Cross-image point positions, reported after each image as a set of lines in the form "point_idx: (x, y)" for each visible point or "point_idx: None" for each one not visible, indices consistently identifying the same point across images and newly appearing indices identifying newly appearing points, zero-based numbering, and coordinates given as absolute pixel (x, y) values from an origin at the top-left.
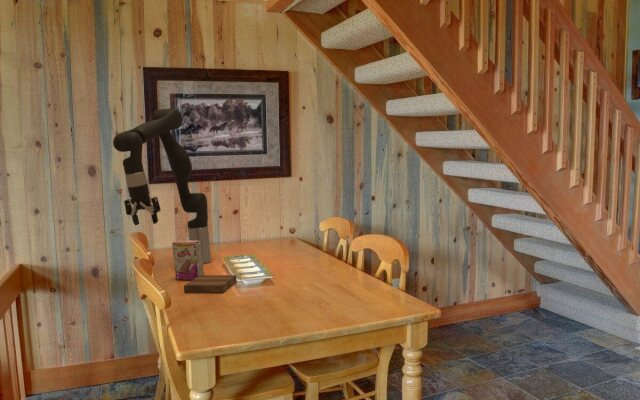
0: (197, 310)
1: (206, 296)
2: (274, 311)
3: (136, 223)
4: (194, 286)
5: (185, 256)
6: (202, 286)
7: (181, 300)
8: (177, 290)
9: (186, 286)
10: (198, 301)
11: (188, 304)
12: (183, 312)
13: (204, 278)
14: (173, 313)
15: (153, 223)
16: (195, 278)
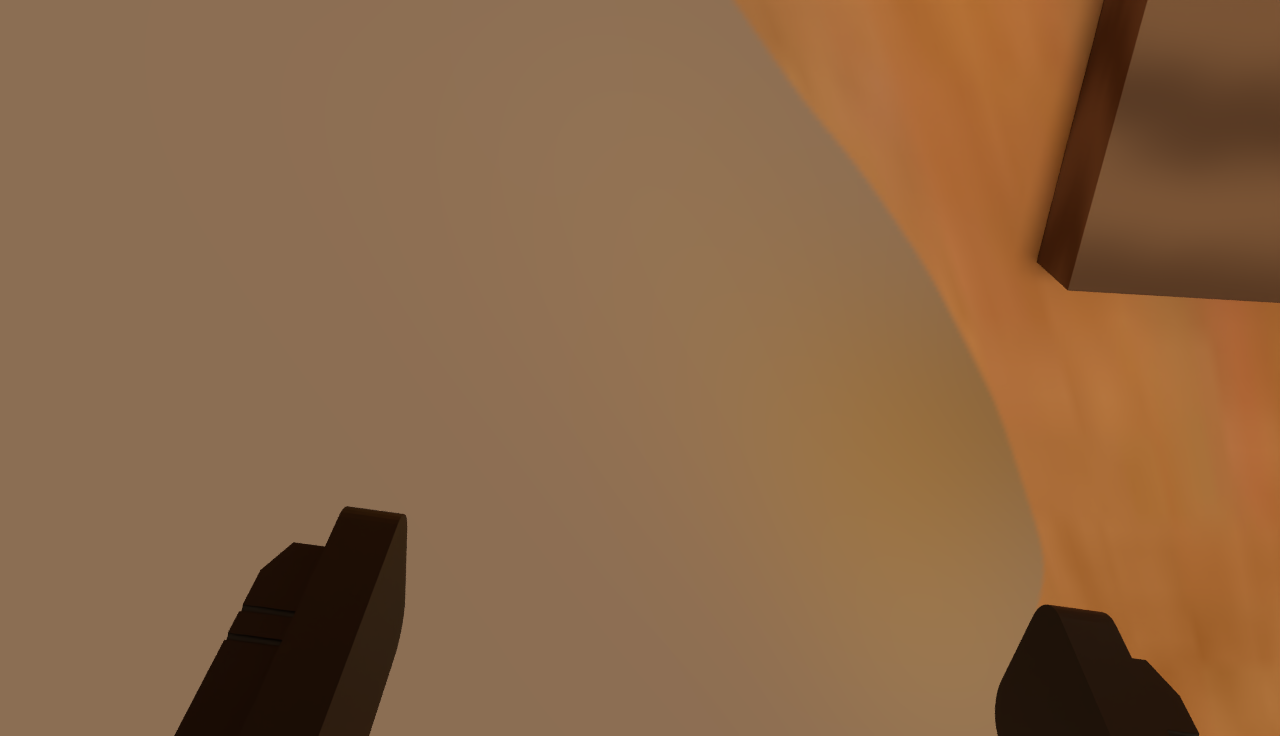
0: (1236, 645)
1: (1273, 359)
2: None
3: (389, 638)
4: (1184, 294)
5: None
6: (1270, 298)
7: (1059, 448)
8: (934, 165)
9: (1095, 288)
10: (1216, 476)
11: (1143, 536)
12: None
13: (1271, 23)
14: None
15: (1009, 721)
16: (1153, 11)
